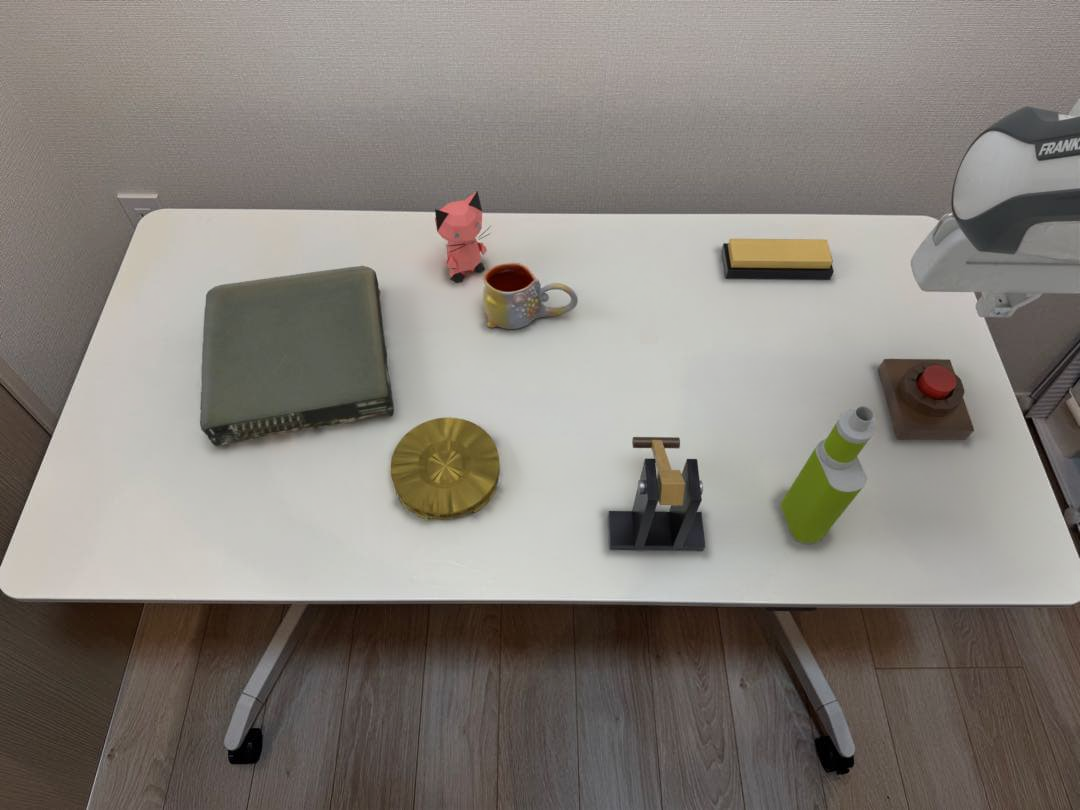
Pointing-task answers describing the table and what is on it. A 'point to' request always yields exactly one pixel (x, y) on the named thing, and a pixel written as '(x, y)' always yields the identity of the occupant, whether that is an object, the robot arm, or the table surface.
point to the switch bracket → (660, 516)
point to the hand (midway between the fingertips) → (991, 312)
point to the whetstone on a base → (777, 259)
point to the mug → (519, 296)
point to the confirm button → (936, 382)
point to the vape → (829, 478)
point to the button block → (923, 402)
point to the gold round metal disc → (445, 468)
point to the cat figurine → (462, 235)
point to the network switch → (293, 354)
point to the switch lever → (664, 468)
